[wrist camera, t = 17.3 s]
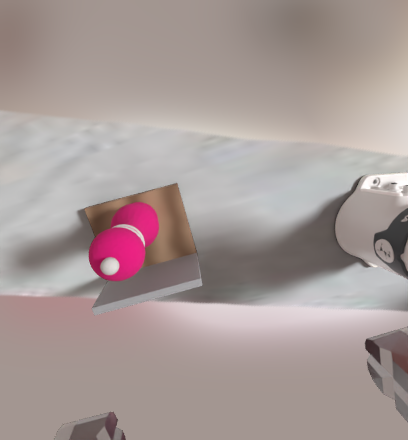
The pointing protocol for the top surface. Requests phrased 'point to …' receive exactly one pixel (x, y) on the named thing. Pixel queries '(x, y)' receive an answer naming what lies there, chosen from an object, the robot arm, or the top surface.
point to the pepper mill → (124, 242)
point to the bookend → (151, 251)
